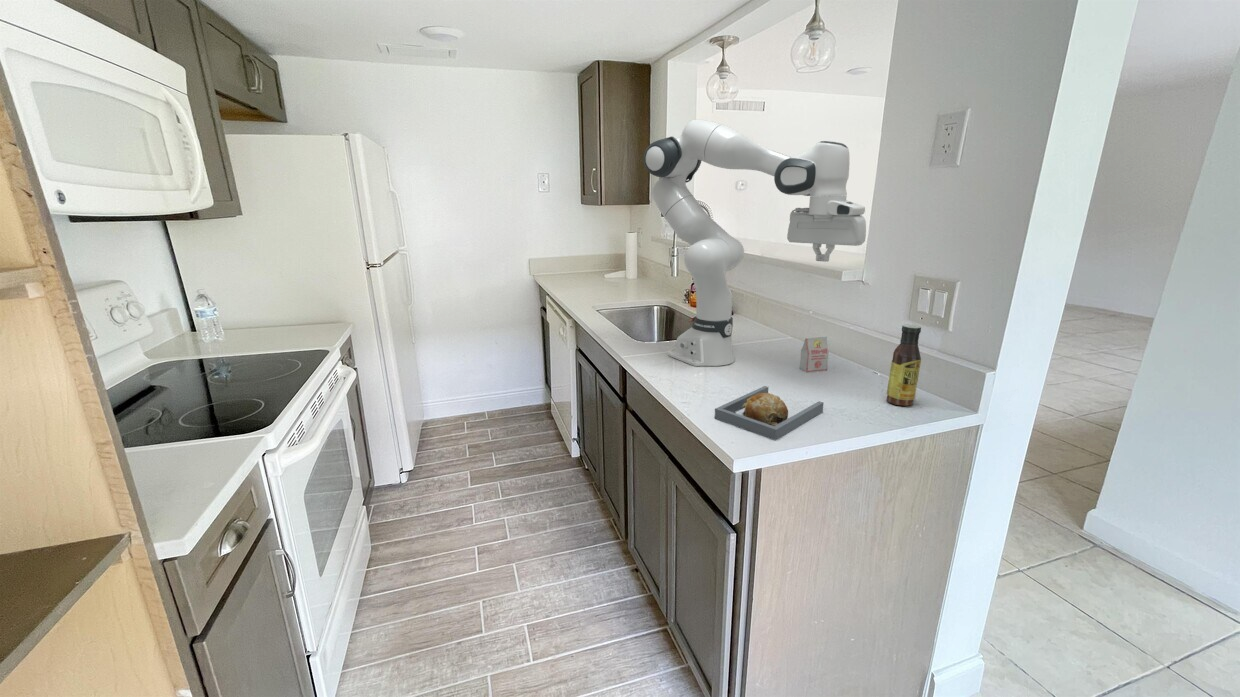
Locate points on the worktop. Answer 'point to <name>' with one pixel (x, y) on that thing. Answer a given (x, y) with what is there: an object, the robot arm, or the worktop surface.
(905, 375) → the sauce bottle
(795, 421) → the slate bay
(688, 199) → the robot arm
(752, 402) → the bread roll
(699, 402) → the worktop surface
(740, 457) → the worktop surface
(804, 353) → the ivan chai tea box
